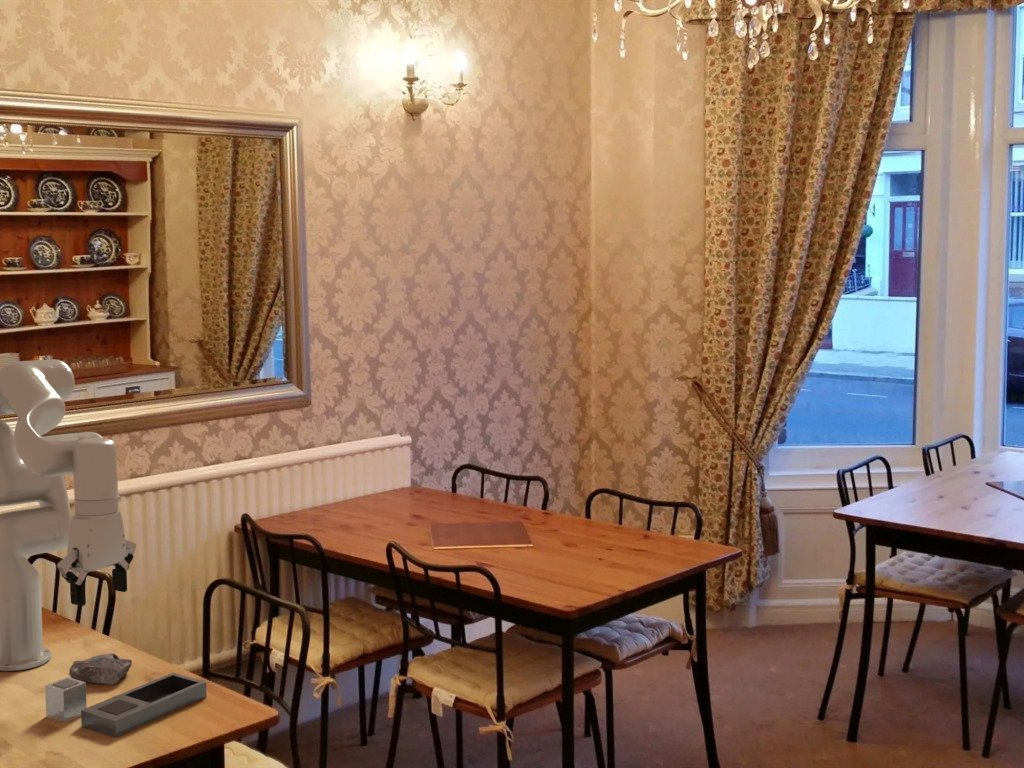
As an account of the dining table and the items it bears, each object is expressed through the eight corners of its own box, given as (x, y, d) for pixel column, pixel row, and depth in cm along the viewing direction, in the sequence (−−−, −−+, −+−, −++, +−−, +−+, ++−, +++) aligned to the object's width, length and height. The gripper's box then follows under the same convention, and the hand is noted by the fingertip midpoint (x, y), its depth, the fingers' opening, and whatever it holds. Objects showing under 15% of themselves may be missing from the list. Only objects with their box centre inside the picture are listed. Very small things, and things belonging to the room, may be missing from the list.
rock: (81, 670, 240) (81, 648, 239) (136, 672, 239) (135, 650, 238) (64, 685, 232) (63, 663, 231) (120, 687, 231) (119, 665, 230)
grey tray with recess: (81, 726, 212) (80, 709, 211) (173, 687, 231) (172, 672, 230) (115, 737, 207) (115, 720, 207) (206, 696, 226) (206, 681, 226)
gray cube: (46, 716, 216) (45, 684, 215) (68, 707, 220) (67, 676, 219) (64, 722, 213) (63, 690, 213) (86, 713, 218) (85, 681, 217)
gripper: (118, 495, 223) (121, 582, 225) (43, 513, 207) (46, 606, 210) (147, 500, 219) (149, 588, 221) (72, 518, 204) (75, 613, 206)
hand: (99, 597), depth 215 cm, fingers open, 9 cm apart
